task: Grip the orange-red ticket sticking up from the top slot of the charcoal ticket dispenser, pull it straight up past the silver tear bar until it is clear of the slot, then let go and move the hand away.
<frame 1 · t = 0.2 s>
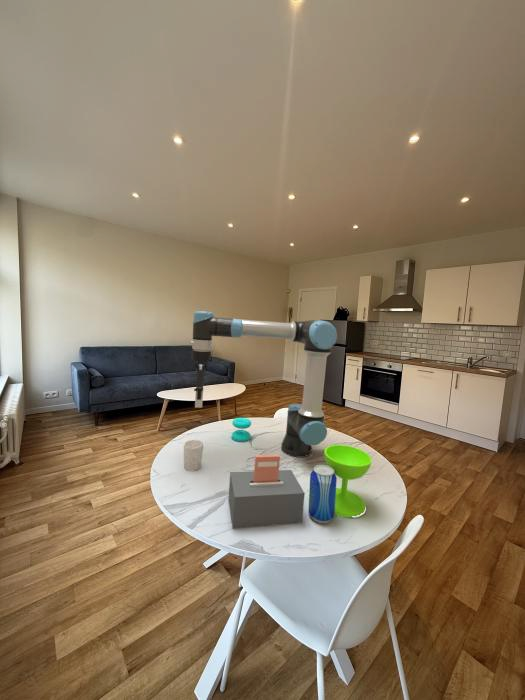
hand: (198, 402, 115), 28 cm above the table, tool pointing down, fingers open, 13 cm apart
wineglass: (342, 503, 101), on the table
ticket: (266, 473, 93), point 13 cm above the table, slide at 0.0 cm
donuts: (240, 438, 151), on the table
dispenser: (263, 510, 94), on the table
white cup: (192, 467, 118), on the table
beer can: (321, 516, 93), on the table
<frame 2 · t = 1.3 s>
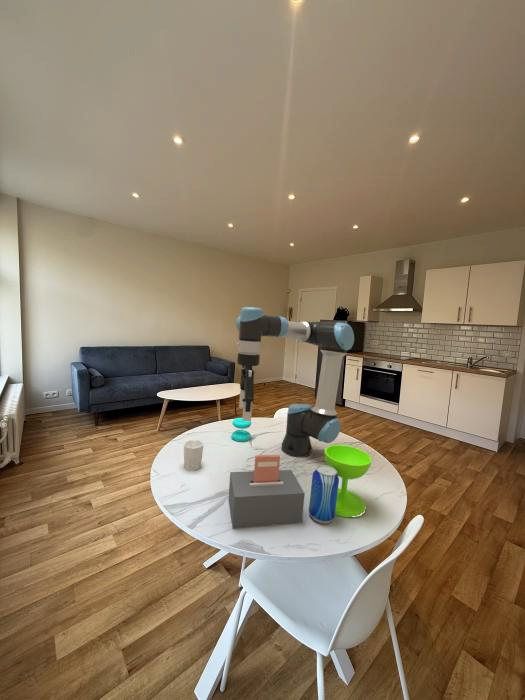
hand: (244, 413, 98), 30 cm above the table, tool pointing down, fingers open, 13 cm apart
nothing on the table moved.
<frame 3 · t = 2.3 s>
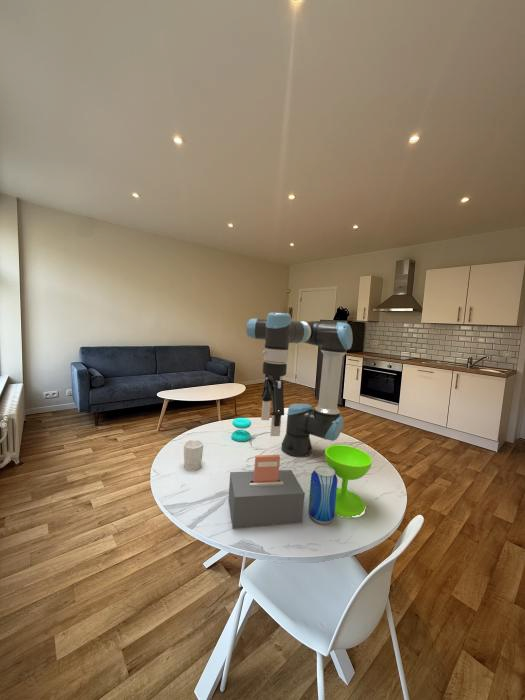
hand: (269, 427, 91), 29 cm above the table, tool pointing down, fingers open, 13 cm apart
nothing on the table moved.
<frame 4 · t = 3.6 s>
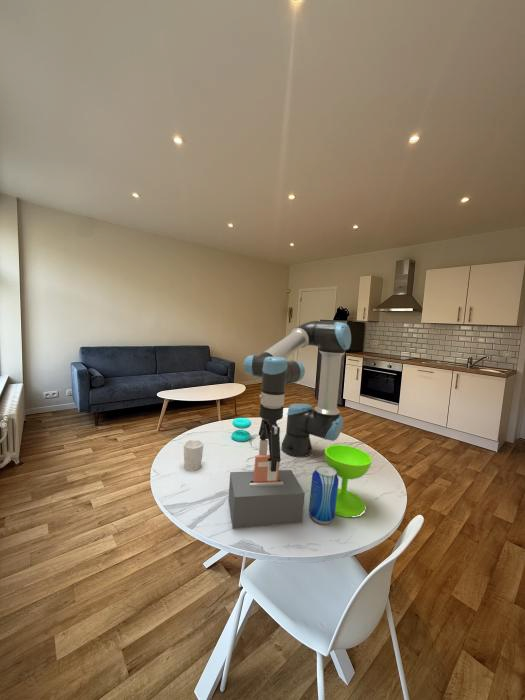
hand: (266, 468, 93), 15 cm above the table, tool pointing down, fingers open, 13 cm apart
nothing on the table moved.
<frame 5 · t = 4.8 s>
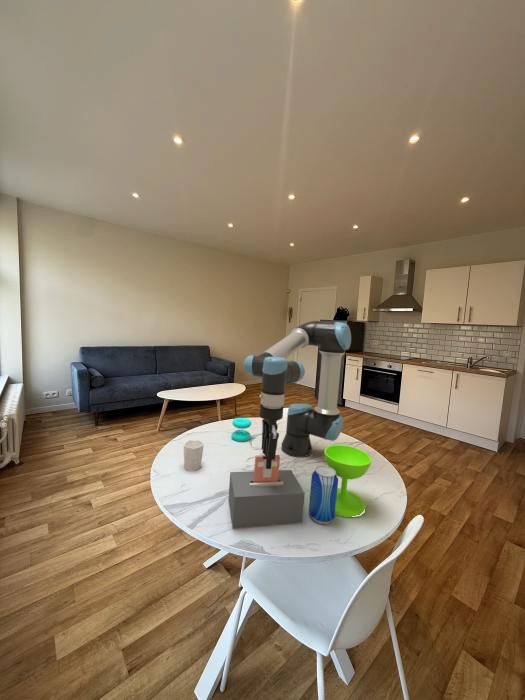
hand: (266, 475, 93), 12 cm above the table, tool pointing down, fingers closed on ticket
ticket: (266, 473, 93), point 13 cm above the table, slide at 0.0 cm, touching gripper
everything else where it was.
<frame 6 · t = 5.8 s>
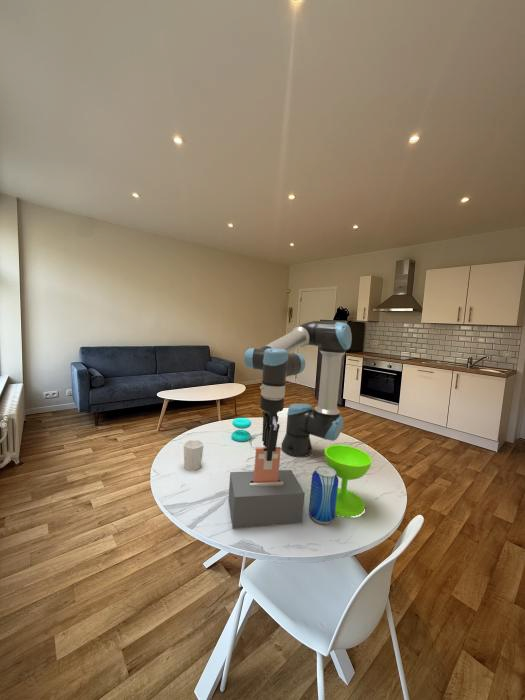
hand: (266, 467, 93), 15 cm above the table, tool pointing down, fingers closed on ticket
ticket: (266, 465, 93), point 16 cm above the table, slide at 2.7 cm, touching gripper
everything else where it was.
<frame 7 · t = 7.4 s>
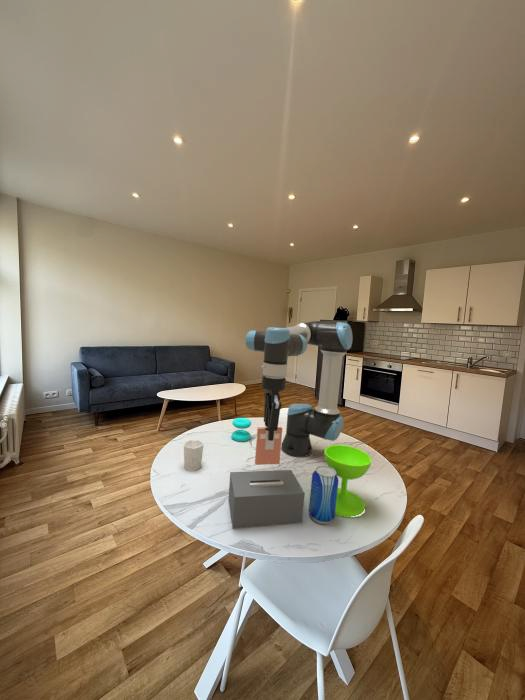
hand: (268, 447, 92), 22 cm above the table, tool pointing down, fingers closed on ticket
ticket: (268, 445, 92), point 22 cm above the table, slide at 9.5 cm, touching gripper
everything else where it was.
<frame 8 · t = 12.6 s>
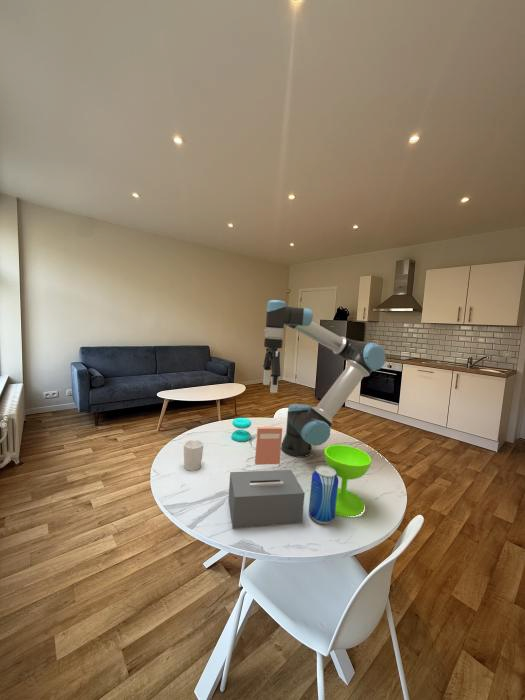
hand: (269, 388, 119), 35 cm above the table, tool pointing down, fingers open, 13 cm apart
ticket: (268, 445, 92), point 22 cm above the table, slide at 9.5 cm
everything else where it was.
at the end: ticket slide at 9.5 cm; the gripper is holding nothing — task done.
